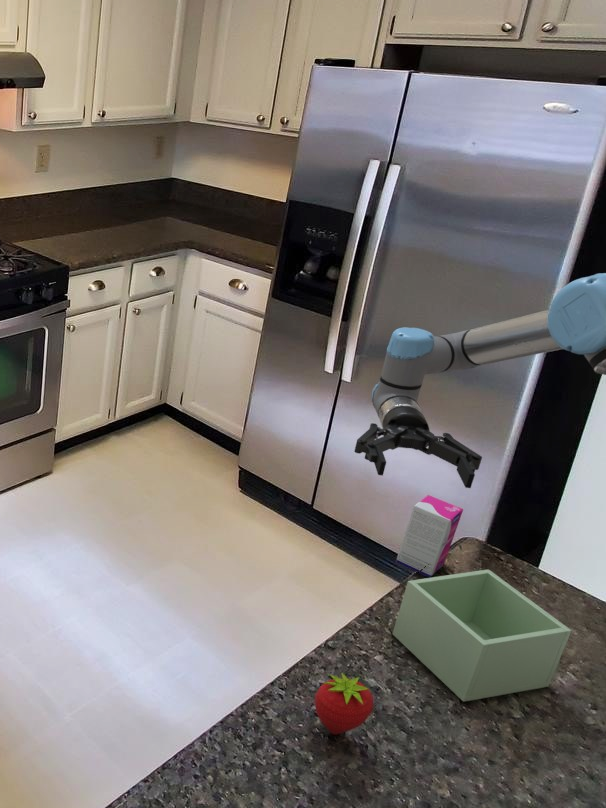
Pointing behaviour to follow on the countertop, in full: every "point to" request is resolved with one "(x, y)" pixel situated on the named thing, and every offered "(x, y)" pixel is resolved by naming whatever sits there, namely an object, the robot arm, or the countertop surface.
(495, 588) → the trash bin
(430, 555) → the supplement box
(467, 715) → the countertop surface
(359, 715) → the strawberry
